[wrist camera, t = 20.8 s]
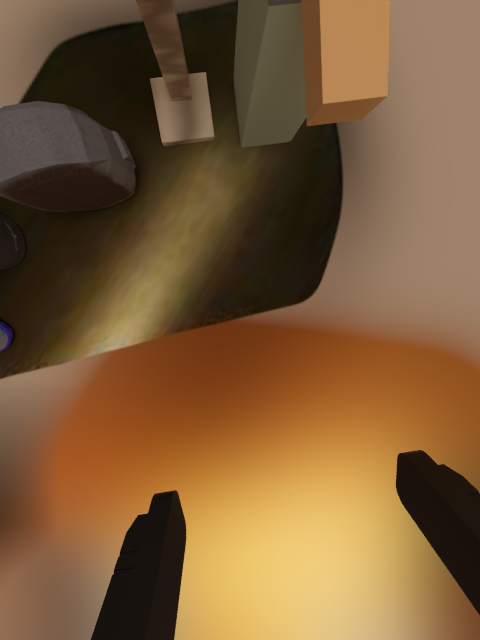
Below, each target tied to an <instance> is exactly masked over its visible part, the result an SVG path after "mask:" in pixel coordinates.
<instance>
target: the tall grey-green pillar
mask: <svg viewBox="0 0 480 640" xmlns="http://www.w3.org/2000/svg"><path fill="white" fill-rule="evenodd" d="M233 82H234V91H235V100H236V108H237V117H238V126H239V135H240V144H241V148H245V147H253V146H261V145H269V144H277V143H285V142H290V141H291V140H292V138H293V137H294V135H295V134H296V132H297V131H298V129H299V128H300V126H301V125H302V123H303V121H304V120H305V118H306V117H307V114H306V93H305V72H304V51H303V30H302V9H301V0H239V3H238V18H237V33H236V47H235V62H234V76H233Z"/></svg>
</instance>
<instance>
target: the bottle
mask: <svg viewBox="0 0 480 640" xmlns="http://www.w3.org/2000/svg"><path fill="white" fill-rule="evenodd" d="M12 338H13V330H12V329H11V328H10V327H9V326H8V325H6V324H5V323H3V322H1V321H0V352H1V351H3V350H5V349H6V348H7V347H8V346H9V345H10V343H11V340H12Z"/></svg>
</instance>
